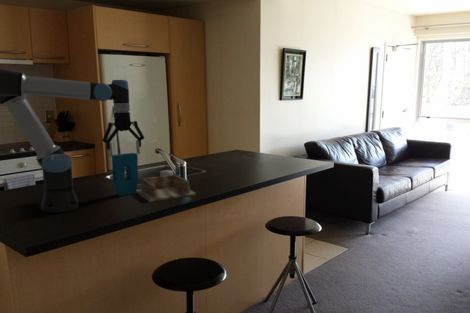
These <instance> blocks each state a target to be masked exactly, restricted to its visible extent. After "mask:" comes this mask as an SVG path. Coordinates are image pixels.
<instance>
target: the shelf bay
mask: <svg viewBox="0 0 470 313" xmlns="http://www.w3.org/2000/svg"><path fill="white" fill-rule="evenodd" d="M140 184H141V189H140V188H139V189H136V193H135V194H138V195H139V196H140V197H142V198H143V199H144V200H146V201H148V202H149V203H151V202H158V201H165V200H172V199H178V198H184V197H190V196H197V192H195V191H194V190H191V189H190V187H191V186H190V180H187V179H185V178H183V177H181V176H179V175H177V174H173V175H168V176H160V175H159V176H152V177H144V178H141V181H140Z"/></svg>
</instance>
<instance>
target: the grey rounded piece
mask: <svg viewBox="0 0 470 313" xmlns="http://www.w3.org/2000/svg"><path fill="white" fill-rule="evenodd" d="M168 175H174V170H171V169H164V170H160V171H159V177H160V176H168Z"/></svg>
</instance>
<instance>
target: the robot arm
mask: <svg viewBox="0 0 470 313" xmlns="http://www.w3.org/2000/svg"><path fill="white" fill-rule="evenodd" d="M129 90H130V89H129V82H128V80H126V79H112V80H111V83H108V84H107V83H103V82H100V83H99V82H90V81H81V80H80V81H79V80H71V79H61V78H53V77H51V78H50V77H41V76H35V75H34V76H32V75H26V74H25V73H24V72H21V71H19V72H18V71H14V70H9V69H6V68H0V105H1V106H3V107H6V108H7V110H8V112H10V115H11V116H12V117H13V119H14V120H15V122H16V123H17V124H16V125H18V127H19V128H20V130H21V131H22V133H23V134H24V136H25V138H26V139H27V141H28V142H29V144H30V145H31V147H32V149H33V150H34V152H35V153H36V157H35V160H36V162H37V163H38V165H39V166H40V167H41V170H42V178H43V191H44V193H43V197H42V202H41V206H40V208H41V209H40V210H41V212H42V213H47V214H58V213H65V212H70V211H73V210H76V209H78V208H79V207H80V206H79V203H80V202H79V200H78V198H77V196H76V193H75V191H74V182H73V181H74V180H73V171H72V170H73V169H72V168H73V167H72V164H73V162H72V158H71V156H69V155H68V154H66V153H65V152H64V150H63V149H62V147H61V146H60V145H56V144H55V143H54V141H53V140H52V138H51V137H50V135H49V133H48V131H47V130H46V129H45V127H44V125H43V123H42V122H41V120H40V119H39V117H38V115H37V114H36V112H35V110H34V109H33V107H32V105H31V104H30V102H29V101H28V99H27V95H30V96H31V95H32V96H33V95H34V96H43V97H44V96H46V97H55V98H56V97H57V98H67V99H69V98H70V99H78V100H79V99H80V100H81V99H82V100H88V101H94V102H95V101H100V102H106V101H113V102H112V103H113V111H114V113H113V114H114V115H113V116H114V122H108V123H107V128H106V131H105V133H104V135H103V138H102V140H101V141H102V142H104V143H105V144H106V145H105V146H106V150H108V155H109V157H111V158H112V155H113V146H112V142H111V141H112V140H113V139H114V138H115V137H116V135H117V134H118V132H123V131H124V132H128V131H129V133H130V134H132V136H133V137H134V138H135V139H137V140H135V144H136V154H137V155H140V154H141V151H140V148H142V140H144V139H145V136H144V134H143V132H142V130H141V129H140V127H139V125H138V121H136V120H133V121H131V112H130V110H131V109H130V107H131V106H130V91H129ZM131 126H133V127H134V129H135V130H136V132H137V133H136V132H135V131H134V130H133V129H132V127H131ZM113 127H115V128H114V130H113V131H112V133H111V130H112V128H113ZM110 133H111V134H110Z"/></svg>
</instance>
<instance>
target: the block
mask: <svg viewBox="0 0 470 313" xmlns="http://www.w3.org/2000/svg"><path fill="white" fill-rule="evenodd" d="M138 160H139V159H138V154H137V152H136V153H135V152H129V153H120V154H119V153H117V154H112V157H111V165H112V168H111V170H112V184H113V187H114V190H115V193H116V195H117V196H120V197H122V196H129V195H133V194H134V195H135V194H137V193H136V190H137V187H138V183H139V170H138V169H139V167H138V166H139V163H138ZM125 171H126V172H125Z"/></svg>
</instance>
